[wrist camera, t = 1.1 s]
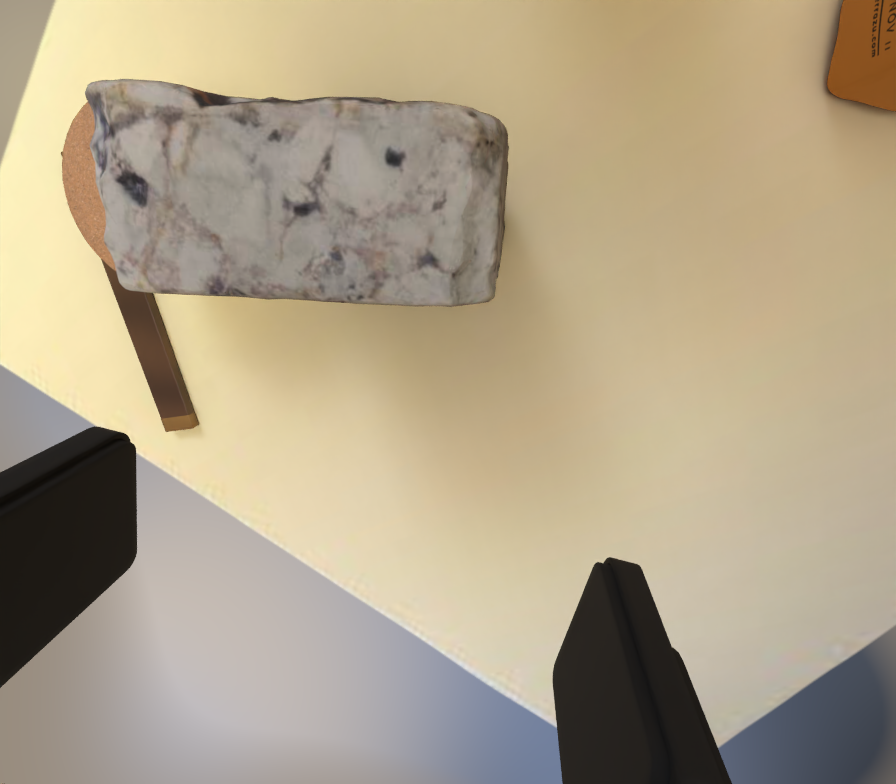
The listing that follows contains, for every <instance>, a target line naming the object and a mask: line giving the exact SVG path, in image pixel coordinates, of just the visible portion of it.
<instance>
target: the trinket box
mask: <svg viewBox="0 0 896 784" xmlns="http://www.w3.org/2000/svg"><path fill="white" fill-rule="evenodd" d="M94 131H95V123H94V114H93V111H92V108H91V106H90V104H89V102H87V103H86V104H85V105H84V106H83V107H82V108H81V110H80V111H79V112H78V114H77V115H76V117H75V118H74V120H73V121H72V124H71V126H70V129H69V131H68V133H67V137H66V141H65V144H64V148H63V160H62V173H63V184H64V189H65V194H66V198H67V201H68V205H69V208H70V211H71V214H72V216H73V218H74V220H75V222H76V224H77V226H78V228H79V230H80V231H81V233H82V235H83V236H84V238H85V240H86V241H87V242H88V244H89V245H90V246H91V247H92V249H93V250H94V251H95V252H96V254H97V255H98V256H99V257H100V258H101V259H102V260H103V261H104V262H105V263H106V264H107V265H109V266H110V267H111V268H112V269H114V270H115V271H116V268H115V264H114V261H113V258H112V256H111V254H110V252H109V250H108V248H107V246H106V245H105V243H104V233H105V227H106V217H105V209H104V206H103V203H102V201H101V198H100V195H99V191H98V188H97V184H96V170H95V161H94V158H93V155H92V152H91V149H90V142H91V139H92V137H93V134H94Z"/></svg>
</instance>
